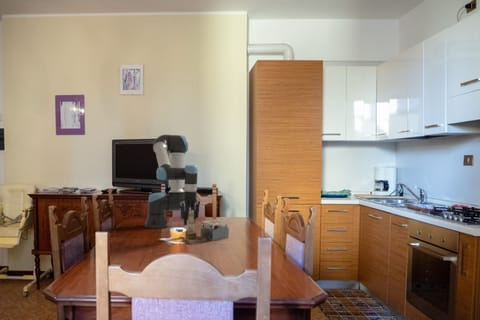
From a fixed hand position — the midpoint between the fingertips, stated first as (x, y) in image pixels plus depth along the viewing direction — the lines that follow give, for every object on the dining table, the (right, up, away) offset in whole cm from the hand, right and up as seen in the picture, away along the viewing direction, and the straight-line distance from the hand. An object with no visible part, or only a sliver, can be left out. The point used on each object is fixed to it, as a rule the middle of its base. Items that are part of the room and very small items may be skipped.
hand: (189, 230), depth 187 cm
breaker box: (+15, -5, +1) cm, 16 cm away
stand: (0, -5, 0) cm, 5 cm away
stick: (0, -4, 0) cm, 4 cm away
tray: (+4, -5, -9) cm, 12 cm away
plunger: (+15, +2, +1) cm, 15 cm away
